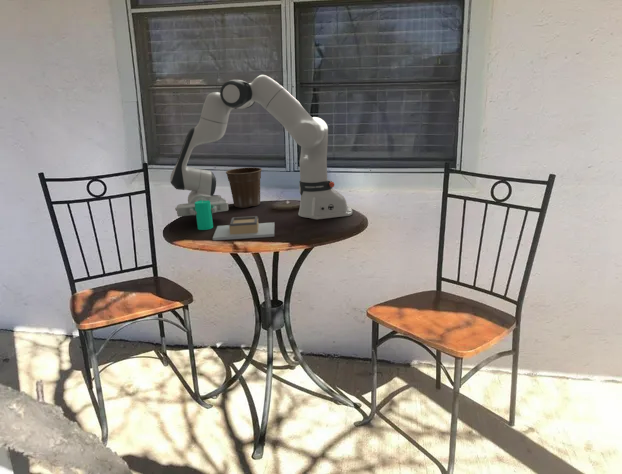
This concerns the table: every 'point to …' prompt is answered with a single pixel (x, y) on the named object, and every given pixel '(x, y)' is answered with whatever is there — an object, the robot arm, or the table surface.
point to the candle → (204, 215)
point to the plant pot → (245, 186)
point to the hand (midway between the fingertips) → (204, 212)
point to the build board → (261, 232)
